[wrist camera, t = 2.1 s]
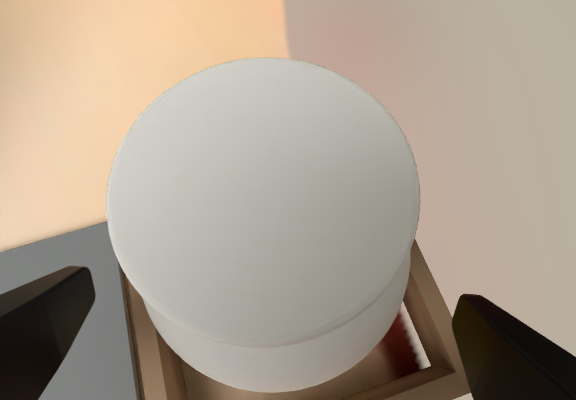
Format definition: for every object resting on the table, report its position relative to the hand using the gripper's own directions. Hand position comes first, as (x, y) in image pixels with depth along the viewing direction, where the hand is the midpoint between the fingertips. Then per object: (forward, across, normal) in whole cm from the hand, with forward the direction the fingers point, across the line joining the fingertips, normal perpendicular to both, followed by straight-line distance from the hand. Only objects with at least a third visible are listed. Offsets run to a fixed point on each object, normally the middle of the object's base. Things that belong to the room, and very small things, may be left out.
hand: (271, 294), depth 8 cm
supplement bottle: (+7, 0, +6) cm, 9 cm away
